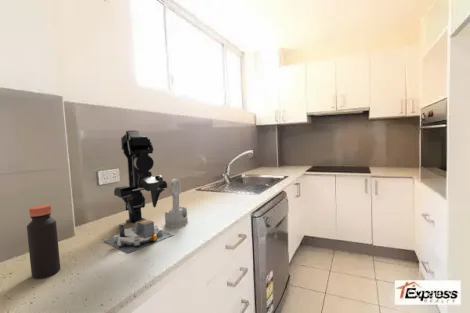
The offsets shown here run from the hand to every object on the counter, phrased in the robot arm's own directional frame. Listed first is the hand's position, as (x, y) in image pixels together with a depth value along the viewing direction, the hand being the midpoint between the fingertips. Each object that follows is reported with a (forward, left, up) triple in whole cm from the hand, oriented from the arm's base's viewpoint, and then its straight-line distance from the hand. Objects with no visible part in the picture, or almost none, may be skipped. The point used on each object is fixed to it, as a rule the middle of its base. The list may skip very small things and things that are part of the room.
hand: (143, 210), depth 92 cm
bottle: (-4, -30, -12) cm, 33 cm away
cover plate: (-5, 0, -12) cm, 13 cm away
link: (0, 0, -10) cm, 10 cm away
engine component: (-7, +20, -12) cm, 24 cm away
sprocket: (-5, 0, -12) cm, 13 cm away
